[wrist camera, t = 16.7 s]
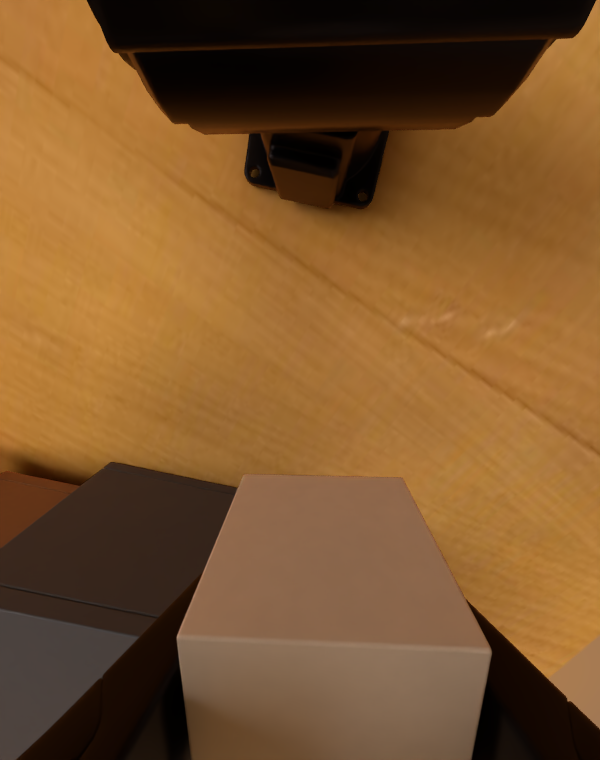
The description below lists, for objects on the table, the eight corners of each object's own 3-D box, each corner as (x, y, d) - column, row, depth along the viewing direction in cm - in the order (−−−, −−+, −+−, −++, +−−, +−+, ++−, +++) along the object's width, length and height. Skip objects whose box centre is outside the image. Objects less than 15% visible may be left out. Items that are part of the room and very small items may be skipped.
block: (402, 476, 8) (494, 651, 4) (391, 605, 9) (456, 852, 5) (243, 473, 9) (174, 637, 4) (249, 600, 10) (198, 833, 5)
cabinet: (101, 610, 23) (-42, 817, 14) (110, 461, 20) (-64, 596, 11) (292, 649, 23) (279, 879, 14) (330, 506, 20) (345, 679, 11)
